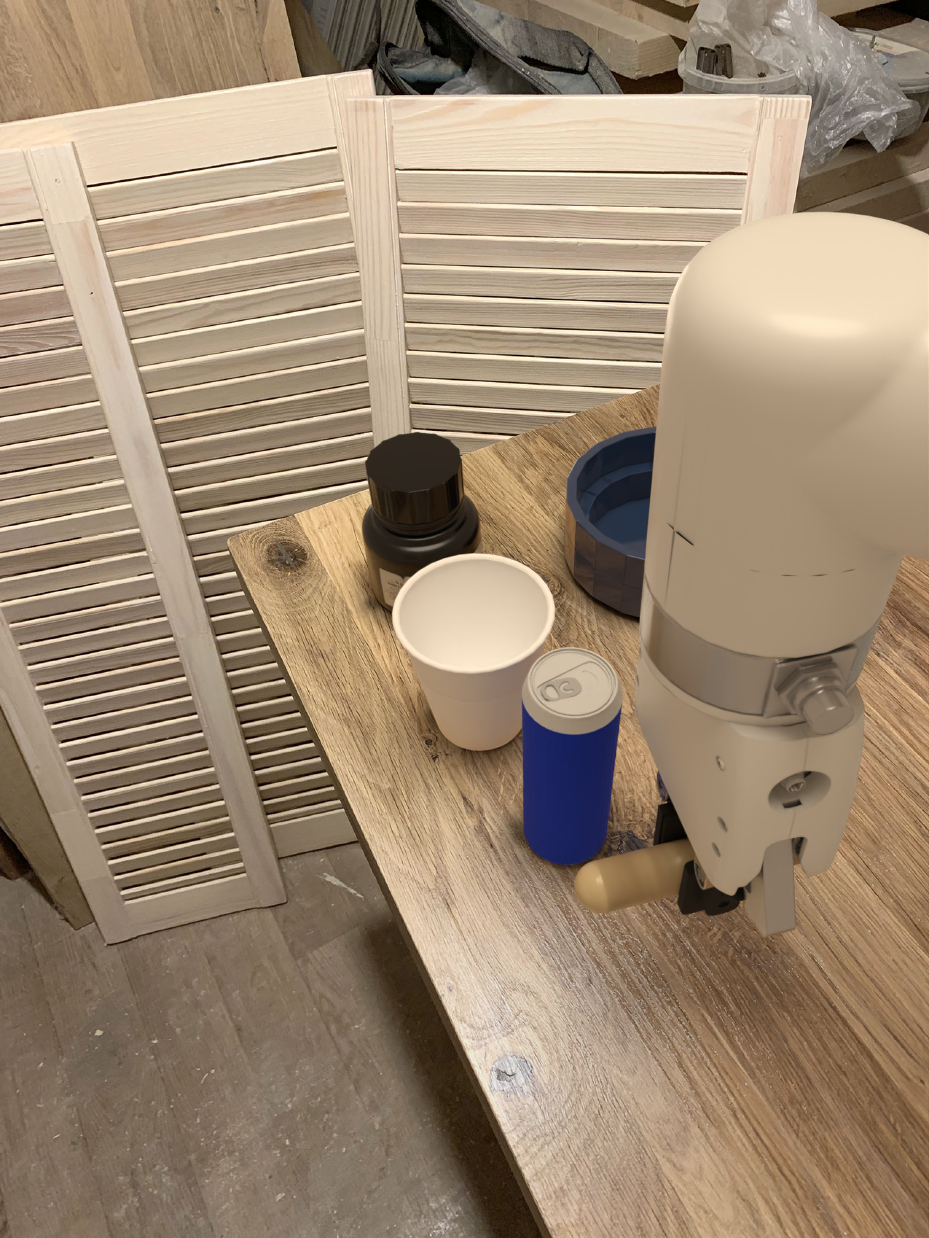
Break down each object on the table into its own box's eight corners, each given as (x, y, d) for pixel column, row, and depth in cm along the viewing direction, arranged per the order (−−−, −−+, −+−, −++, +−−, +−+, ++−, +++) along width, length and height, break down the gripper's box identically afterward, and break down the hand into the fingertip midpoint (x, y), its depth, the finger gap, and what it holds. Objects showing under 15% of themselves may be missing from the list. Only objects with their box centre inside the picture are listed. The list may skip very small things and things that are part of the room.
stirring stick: (804, 822, 46) (814, 796, 44) (828, 865, 44) (838, 840, 42) (567, 881, 45) (567, 857, 43) (582, 928, 43) (583, 904, 41)
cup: (577, 747, 62) (583, 639, 54) (439, 798, 60) (424, 694, 52) (517, 645, 68) (515, 534, 60) (390, 688, 66) (370, 580, 58)
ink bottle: (392, 640, 69) (372, 520, 61) (350, 568, 75) (326, 448, 66) (507, 596, 72) (504, 473, 63) (459, 529, 77) (449, 408, 69)
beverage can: (583, 785, 60) (595, 631, 49) (621, 852, 57) (642, 702, 46) (510, 812, 59) (505, 661, 48) (544, 882, 56) (547, 736, 45)
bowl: (718, 474, 80) (730, 412, 76) (804, 603, 70) (824, 539, 65) (540, 509, 79) (541, 446, 74) (600, 646, 68) (605, 583, 63)
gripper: (1005, 781, 26) (855, 1020, 39) (756, 449, 37) (705, 725, 50) (752, 845, 25) (687, 1065, 39) (575, 487, 36) (572, 756, 50)
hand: (697, 871), depth 44 cm, fingers closed on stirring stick, 2 cm apart
